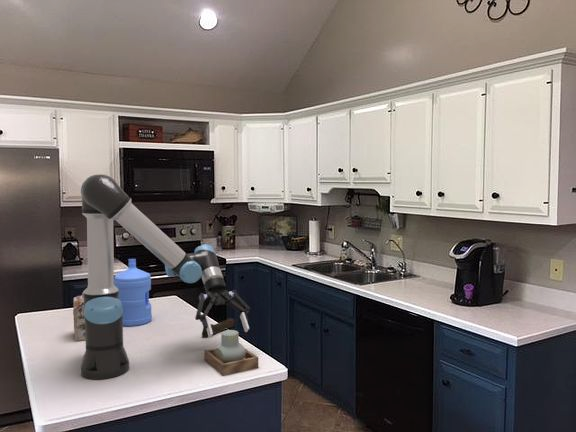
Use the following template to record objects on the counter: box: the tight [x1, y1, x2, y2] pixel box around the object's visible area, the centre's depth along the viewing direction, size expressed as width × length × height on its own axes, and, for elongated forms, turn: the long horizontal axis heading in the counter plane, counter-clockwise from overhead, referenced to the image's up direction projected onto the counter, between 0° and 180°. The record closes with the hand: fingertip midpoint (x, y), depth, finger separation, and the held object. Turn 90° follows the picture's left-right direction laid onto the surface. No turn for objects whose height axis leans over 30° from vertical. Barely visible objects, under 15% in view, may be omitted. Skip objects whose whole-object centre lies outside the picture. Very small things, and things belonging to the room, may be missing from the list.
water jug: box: [114, 258, 153, 327], centre depth 220 cm, size 16×16×28 cm
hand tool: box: [201, 317, 236, 338], centre depth 205 cm, size 19×4×5 cm, turn 145°
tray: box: [203, 347, 259, 377], centre depth 170 cm, size 13×16×4 cm
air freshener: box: [215, 329, 246, 363], centre depth 169 cm, size 11×8×10 cm
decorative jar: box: [72, 292, 85, 342], centre depth 200 cm, size 12×12×18 cm
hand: (229, 333), depth 172 cm, fingers open, 13 cm apart
